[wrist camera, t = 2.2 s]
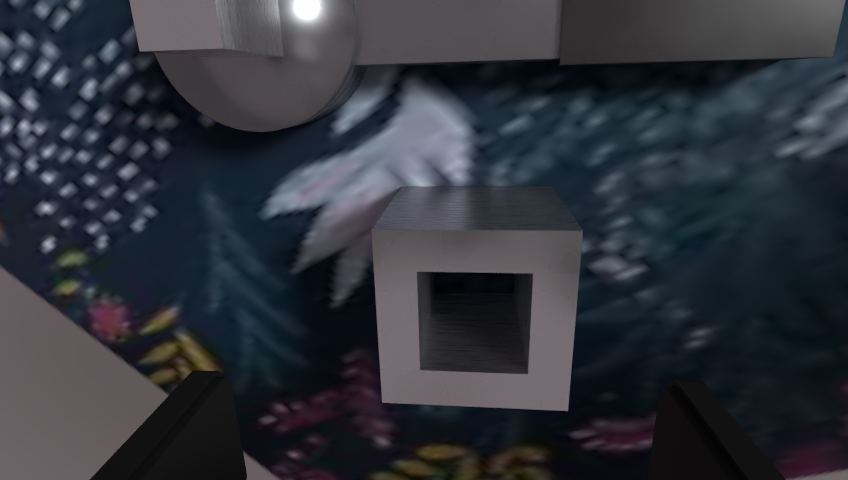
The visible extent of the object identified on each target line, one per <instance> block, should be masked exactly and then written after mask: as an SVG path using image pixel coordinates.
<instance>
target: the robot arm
mask: <svg viewBox="0 0 848 480" xmlns="http://www.w3.org/2000/svg"><path fill="white" fill-rule="evenodd" d="M246 478H247V474H246V467H245V462H244V455H243V450H242V444H241V438H240V432H239V427H238V421H237V415H236V409H235V404H234V398H233V392H232V386H231V382H230V380H229V379H228V378H224V376H223V374H222V373H221V372H219V371H193V372H191V373H190V374H189V375H188V376H187V377H186V378H185V379H184V380H183V381H182V382H181V383H180V385H179V386H178V387H177V388H176V389H175V390H174V391H173V392H172V393H171V394H170V395H169V396H168V397H167V398H166V400H165V401H164V402H163V403H162V404H161V405H160V406H159V407H158V408H157V409H156V410H155V411H154V412H153V413H152V414H151V415H150V416H149V418H147V420H146V421H145V422H144V423H143V424H142V425H141V426H140V427H139V428H138V429H137V430H136V431H135V432H134V433H133V434H132V436H131V437H130V438H129V439H128V440H127V441H126V442H125V443H124V444H123V445H122V446H121V447H120V448H119V449H118V450H117V451H116V453H114V455H113V456H112V457H111V458H110V459H109V460H108V461H107V462H106V463H105V464H104V465H103V466H102V467H101V468H100V469H99V471H98V472H97V473H96V474H95V475H94V476H93V477H92V478H91V479H90V480H246ZM647 480H785V478H784V477H783V476H782V475H781V474H780V472H779V471H778V470H777V469H776V468H775V466H774V465H773V464H772V463H771V461H770V460H769V459H768V458H767V457H766V456H765V455H764V454H763V453H762V452H761V451H760V450H759V449H758V448H757V446H756V445H755V444H754V443H753V442H752V440H751V439H750V438H749V437H748V435H747V434H746V433H745V432H744V431H743V429H742V428H741V427H740V426H739V424H738V423H737V422H736V421H735V420H734V418H733V417H732V416H731V415H730V413H729V412H728V411H727V410H726V409H725V407H724V406H723V405H722V404H721V403H720V401H719V400H718V399H717V398H716V396H715V395H714V394H713V393H712V392H711V390H710V389H709V388H708V387H707V385H706V384H704V383H703V382H701V381H672V382H670V384H669V386H668V388H662V389H661V391H660V395H659V402H658V409H657V416H656V422H655V429H654V436H653V442H652V449H651V456H650V463H649V469H648V476H647Z"/></svg>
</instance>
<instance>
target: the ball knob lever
mask: <svg viewBox="0 0 848 480" xmlns="http://www.w3.org/2000/svg"><path fill="white" fill-rule="evenodd" d="M130 5H131V10H132V15H133V20H134V25H135V30H136V35H137V41H138V46H139V51H140V52H152V53H154V54H155V56H156V58H157V60H158V62H159V64H160V66H161V68H162V70H163V72H164V73H165V75H166V76H167V78H168V79H169V81H170V82H171V84H172V85H173V86H174V87H175V89H176V90H177V91H178V92H179V93H180V94H181V95H182V96H183V97H184V98H185V100H186V101H187V102H188V103H190V104H191V105H192V106H193V107H195V108H196V109H197V110H198V111H200V112H201V113H203V114H204V115H206V116H207V117H209V118H211V119H212V120H215V121H217V122H219V123H221V124H223V125H226V126H229V127H232V128H235V129H239V130H244V131H252V132H267V131H276V130H280V129H284V128H289V127H293V126H297V125H301V124H305V123H309V122H313V121H316V120H319V119H321V118H324V117H326V116H328V115H329V114H331V113H333V112H335V111H336V110H337V109H338V108H340V107H341V106H342V105H343V104H344V103H345V102H346V101H347V100H348V99H349V98H350V97H351V96H352V95H353V93H354V92H355V91H356V89H357V88H358V86H359V84H360V83H361V81H362V79H363V77H364V75H365V72H366V70H367V67H386V66H418V65H450V64H483V63H515V62H548V67H573V66H607V65H641V64H674V63H708V62H742V61H775V60H792V59H807V58H821V57H833V53H834V49H835V44H836V40H837V35H838V31H839V27H840V22H841V18H842V13H843V9H844V5H845V0H130Z"/></svg>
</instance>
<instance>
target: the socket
mask: <svg viewBox="0 0 848 480" xmlns="http://www.w3.org/2000/svg"><path fill="white" fill-rule="evenodd" d="M371 233H372V249H373V265H374V281H375V297H376V312H377V328H378V344H379V360H380V376H381V391H382V403H402V404H424V405H446V406H468V407H491V408H513V409H535V410H557V411H568V404H569V392H570V380H571V368H572V356H573V344H574V332H575V320H576V308H577V296H578V284H579V272H580V260H581V248H582V236H583V230H582V229H581V228H580V226H579V225H578V223H577V222H576V221H575V219H574V218H573V216H572V215H571V214H570V212H569V211H568V209H567V208H566V207H565V205H564V204H563V202H562V201H561V200H560V198H559V197H558V195H557V194H556V193H555V191H554V190H553V188H552V187H551V186H453V187H401V188H400V190H399V191H398V193H397V194H396V195H395V197H394V198H393V200H392V201H391V202H390V204H389V205H388V207H387V208H386V210H385V211H384V212H383V214H382V215H381V217H380V218H379V219H378V221H377V222H376V224H375V225H374V226H373V228H372V229H371ZM435 272H472V273H514V293H465V292H435Z"/></svg>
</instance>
